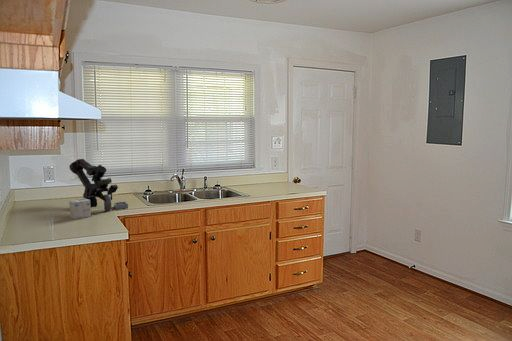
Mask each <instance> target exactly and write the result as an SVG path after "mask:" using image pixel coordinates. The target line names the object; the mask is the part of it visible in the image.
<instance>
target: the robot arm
mask: <svg viewBox="0 0 512 341" xmlns="http://www.w3.org/2000/svg"><path fill="white" fill-rule="evenodd" d="M69 170H70V171H71V173H73V174H74V175H76V176H77V178H78V179H79V181H80V182H81V183H82V185H83V187H84V192H83V194H82V195H83V199H90V206H91V208H93V207H97V206H98V199H97V198H99V200H100V199H101V200H102V201H103V202H104V201H106V200H105V197H104V194H103V192H104V193H105V192H106V194H110V195H111V201H112V200H113V193H116V192H117V190H118V189H119V187H118V185H117V184H111V183H112V181H113V180H112V178H111V177H108V178H105V179H104V176H105V174H106V172H107V168H106V167H105V166H103V165H102V164H98V165H97V166H96V165H92V164H90V163H89V162H88V161H86V159H84V158H78V159H76V160H75V161H73V162H71V163H70V164H69ZM85 171H86V173H85ZM86 174H87V175H86ZM88 176H89V177H90V176H91V181H90V180H89V178H88ZM91 182H93V183H91ZM109 184H111V185H110V186H109Z"/></svg>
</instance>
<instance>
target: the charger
mask: <svg viewBox="0 0 512 341" xmlns="http://www.w3.org/2000/svg"><path fill="white" fill-rule="evenodd" d="M103 196H104V197H105V200H106V201H103V206H104V211H112V200H111V195H110V194H107V193H106V194H103Z"/></svg>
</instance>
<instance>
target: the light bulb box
mask: <svg viewBox="0 0 512 341" xmlns="http://www.w3.org/2000/svg"><path fill="white" fill-rule="evenodd" d="M68 203H69V204H68V205H69V213H70V214H69V215H70V219H72V218H73V219H72V220H79V219H84V218H88V217H91V216H92V207H91V206H90V199H86V198H81V199H80V198H79V199H76V200H69V202H68ZM78 218H79V219H78Z"/></svg>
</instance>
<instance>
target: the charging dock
mask: <svg viewBox="0 0 512 341" xmlns="http://www.w3.org/2000/svg"><path fill="white" fill-rule="evenodd" d="M113 208H114V210H123V209H122V208H125V209H128V208H129V204H128V202H127V201H119V202H117V201H116V202H113Z"/></svg>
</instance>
